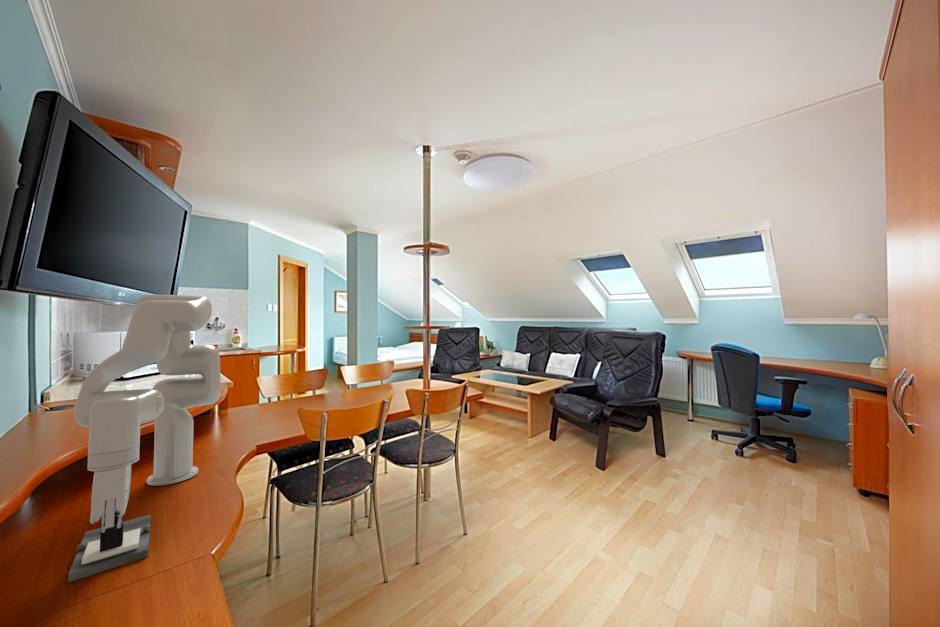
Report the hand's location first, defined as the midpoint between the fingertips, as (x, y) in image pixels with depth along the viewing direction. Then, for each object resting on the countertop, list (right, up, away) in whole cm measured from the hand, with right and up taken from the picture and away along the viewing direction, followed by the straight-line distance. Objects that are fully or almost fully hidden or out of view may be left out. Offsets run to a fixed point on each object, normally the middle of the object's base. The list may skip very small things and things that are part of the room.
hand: (111, 547), depth 71 cm
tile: (-1, 0, +2) cm, 2 cm away
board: (-4, -3, +5) cm, 7 cm away
